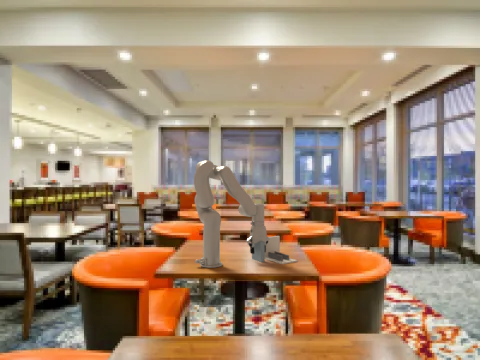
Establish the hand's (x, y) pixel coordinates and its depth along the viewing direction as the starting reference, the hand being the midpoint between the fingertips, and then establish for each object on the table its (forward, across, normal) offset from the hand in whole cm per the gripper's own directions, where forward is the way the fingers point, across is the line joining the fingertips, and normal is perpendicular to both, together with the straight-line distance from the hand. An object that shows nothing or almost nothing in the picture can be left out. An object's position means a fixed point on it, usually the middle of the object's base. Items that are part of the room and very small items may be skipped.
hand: (258, 252), depth 190 cm
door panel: (+5, 0, 0) cm, 5 cm away
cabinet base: (+5, +12, -6) cm, 14 cm away
